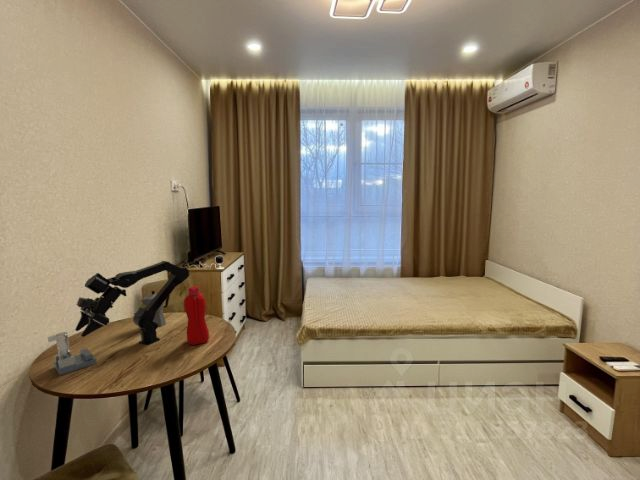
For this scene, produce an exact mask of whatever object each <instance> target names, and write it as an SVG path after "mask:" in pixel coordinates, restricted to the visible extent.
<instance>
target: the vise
mask: <svg viewBox="0 0 640 480" xmlns="http://www.w3.org/2000/svg"><path fill="white" fill-rule="evenodd" d="M96 364H97V358H96V357H95V356H94V355H93V353H92V352H91V351H90V350H89V349H88V348H83V349H79V354H77V355H72V352H71V351H70V357H67V358H64V359H61V360H59V355H58V353H57V354H55V355H54V362H53V368H54V369H55V370H56V372H57V374H58V375H59V376H63V375H66V374H69V373H72V372H75V371H77V370H81V369H84V368H87V367H89V366H93V365H96Z"/></svg>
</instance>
